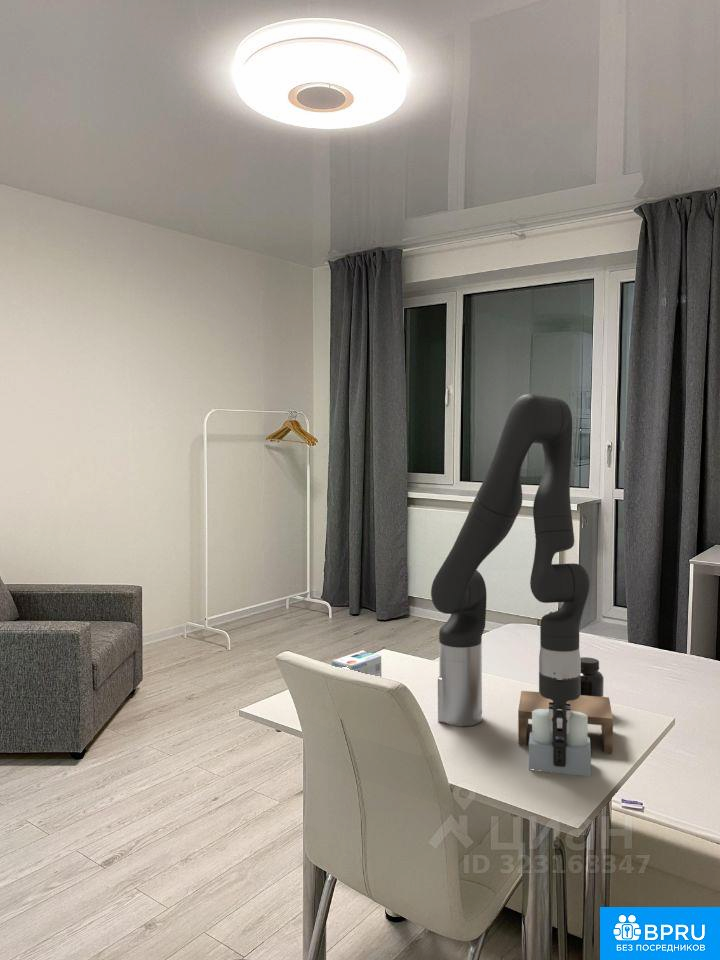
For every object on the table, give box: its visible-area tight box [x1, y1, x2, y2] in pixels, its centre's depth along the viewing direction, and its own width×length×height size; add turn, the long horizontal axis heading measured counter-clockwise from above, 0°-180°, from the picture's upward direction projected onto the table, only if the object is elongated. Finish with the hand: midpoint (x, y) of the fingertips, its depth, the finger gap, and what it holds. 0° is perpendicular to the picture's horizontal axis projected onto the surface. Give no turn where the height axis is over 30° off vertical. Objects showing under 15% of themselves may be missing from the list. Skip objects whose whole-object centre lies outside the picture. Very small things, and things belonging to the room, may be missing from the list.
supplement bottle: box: [580, 656, 605, 697], centre depth 164 cm, size 7×7×12 cm
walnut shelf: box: [517, 690, 614, 754], centre depth 151 cm, size 18×12×7 cm, turn 75°
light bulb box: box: [331, 650, 383, 677], centre depth 173 cm, size 11×7×11 cm, turn 136°
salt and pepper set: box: [528, 709, 592, 777], centre depth 138 cm, size 11×6×10 cm, turn 75°
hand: (559, 758), depth 138 cm, fingers closed on salt and pepper set, 5 cm apart
